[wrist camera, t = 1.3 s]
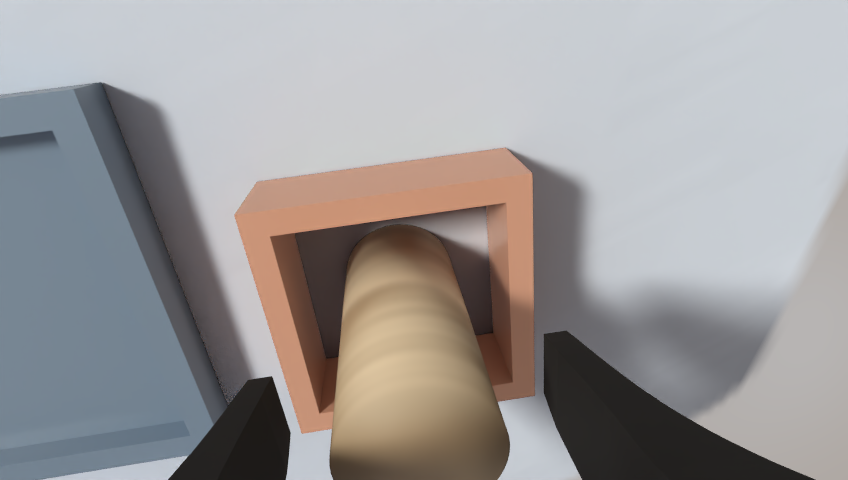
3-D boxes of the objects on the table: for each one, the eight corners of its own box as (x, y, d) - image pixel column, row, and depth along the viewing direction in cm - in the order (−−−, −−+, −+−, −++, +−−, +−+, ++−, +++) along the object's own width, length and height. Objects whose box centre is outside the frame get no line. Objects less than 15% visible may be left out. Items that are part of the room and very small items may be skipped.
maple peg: (454, 308, 19) (512, 502, 11) (356, 323, 19) (347, 531, 11) (446, 217, 17) (506, 374, 10) (337, 233, 17) (312, 405, 9)
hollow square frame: (512, 344, 20) (534, 395, 17) (311, 376, 20) (301, 433, 17) (505, 147, 16) (532, 173, 14) (257, 181, 16) (234, 215, 13)
